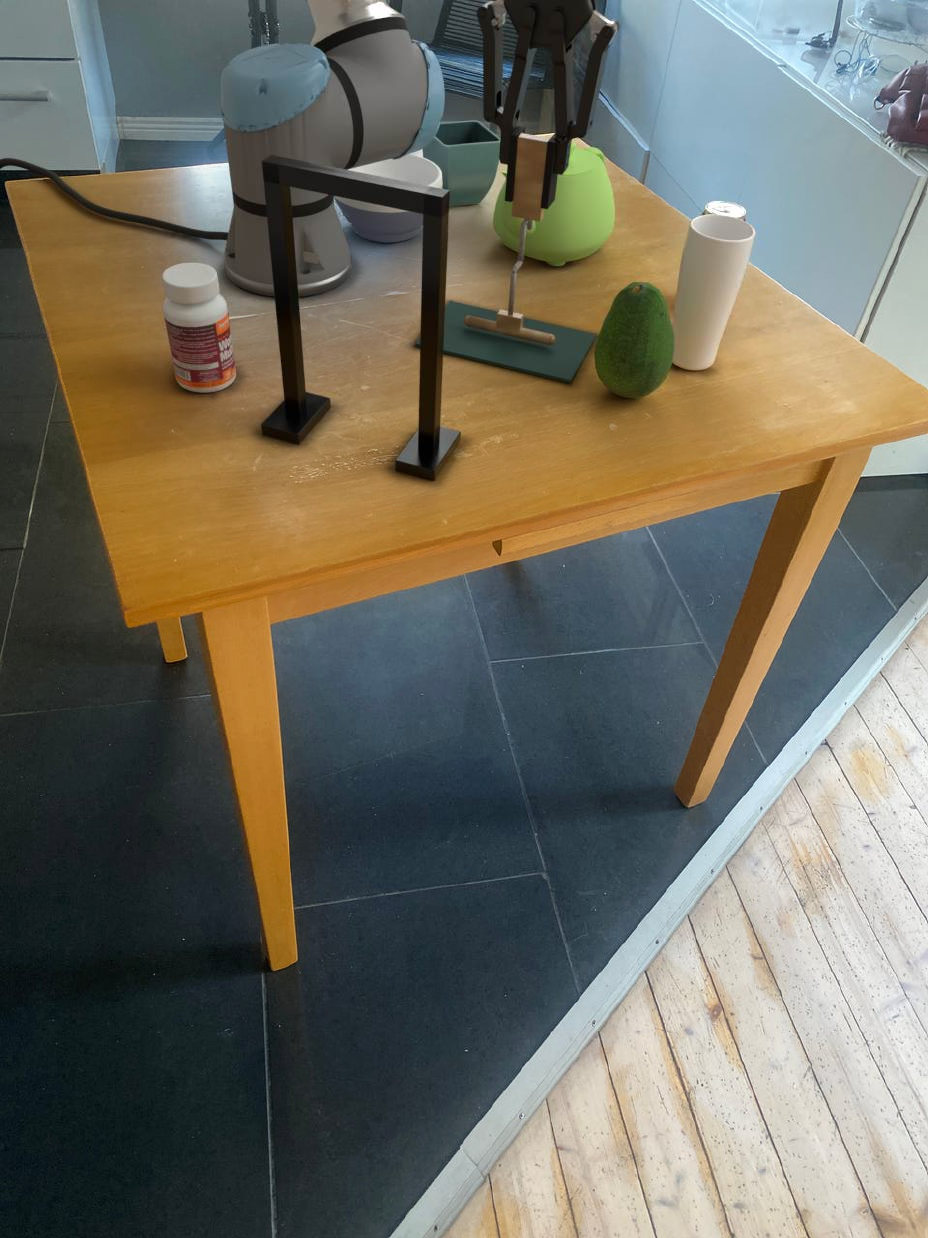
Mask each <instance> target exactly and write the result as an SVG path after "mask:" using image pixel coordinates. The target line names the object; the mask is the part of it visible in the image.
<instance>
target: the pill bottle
mask: <svg viewBox="0 0 928 1238" xmlns="http://www.w3.org/2000/svg"><path fill="white" fill-rule="evenodd" d="M161 276H162V284H163V292H164V295H165V297H166V299H165V300H164V302H163V305H162V312H163V318H164V323H165V327H166V328H165V329H166V334H167V338H168V344H169V349H170V353H171V354H170V355H171V359H172V365H173V371H174V376H175V380H176V382H177V384H178V385H179V386H180V387H182V388H183V389H184V390H187V391H189V392H194V393H204V394H205V393H207V394H208V393H214V392H215V393H216V392H219V391H222V390H224V389H226V388H227V387H230V385H232V384H233V383H234V381H235V380H236V377H237V369H236V361H235V354H234V353H235V352H234V345H233V340H232V339H233V338H232V332H231V324H230V323H231V322H230V315H229V308H228V304H227V301H226V299H225V298H224V296H222V295H221V294H220V291H221V289H220V283H219V278H218V273H217V270H216V269H215V268H214V267H213V266H211V265H209V264H205V263H201V262H183V263H177V264H174V265H172V266H170V267H168V268H166V269H165V270H164V271H163V273H162V275H161Z"/></svg>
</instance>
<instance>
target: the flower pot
mask: <svg viewBox="0 0 928 1238" xmlns="http://www.w3.org/2000/svg"><path fill="white" fill-rule="evenodd" d="M500 138H501V137H499V135H497V134H495V132H493V131H492V130H491V129H489V128H488V127H486V126H485V124H483V122H481V121H479V120H476V119H473V120H461V121H447V122H446V121H445V122H440V126H439V129H438V131H437V133H436V135H435V137H434V138H433V140H432V141H431V142H430V143H429V144H428V145H427V146H426V147H425V148H423V149H421V150H422V157H423V158H426V159H428V160H430V161H432V162H434V163H435V164H436V165H437V166H438V167H439V168H440V170H441V172H442V183H443V184H442V189H446V190H450V200H449V207H458V206H459V207H460V206H468V205H478V204H481V202H482V201H484V199H485V198H486V197H487V195H488V194H489V192H490V191H491V188H492V186H493V185H494V182H495V179H496V177H497V172H498V169H499V163H500V160H499V152H500Z"/></svg>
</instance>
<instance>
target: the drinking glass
mask: <svg viewBox="0 0 928 1238" xmlns="http://www.w3.org/2000/svg"><path fill="white" fill-rule="evenodd" d="M755 237H756V230H755V228H754V226H752V225H751V224H750V223H749V222H747V221H746V222H745V221H743V220H741V219H738V218H735V217H731V216H727V215H718V214H708V215H702V214H701V215H698V216H696V217H694V218H693V219H692V220H691V221H690V222H689V225H688V230H687V233H686V236H685V240H684V245H683V249H682V254H681V258H680V263H679V271H678V279H677V287H676V294H675V300H674V301H675V302H674V307H673V308H674V310H673V316H672V322H671V324H672V328H673V333H674V346H675V349H674V356H673V362H672V364H673V365H675V366H676V367H678V368H681V369H684V370H687V371H703V370H706V369H708V368H710V367H712V366H713V364H714V363H715V361H716V359H717V355H718V351H719V347H720V344H721V341H722V338H723V336H724V333H725V331H726V327H727V325H728V322H729V319H730V316H731V314H732V311H733V308H734V305H735V303H736V300H737V297H738V296H739V293H740V292H739V291H740V290H741V287H742V284H743V281H744V278H745V276H746V273H747V270H748V266H749V263H750V259H751V255H752V251H753V247H754V242H755Z"/></svg>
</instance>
